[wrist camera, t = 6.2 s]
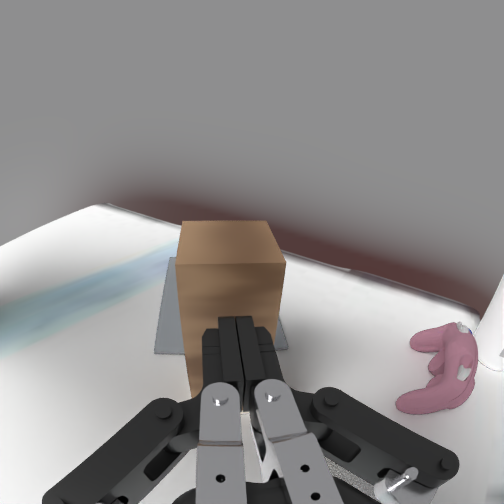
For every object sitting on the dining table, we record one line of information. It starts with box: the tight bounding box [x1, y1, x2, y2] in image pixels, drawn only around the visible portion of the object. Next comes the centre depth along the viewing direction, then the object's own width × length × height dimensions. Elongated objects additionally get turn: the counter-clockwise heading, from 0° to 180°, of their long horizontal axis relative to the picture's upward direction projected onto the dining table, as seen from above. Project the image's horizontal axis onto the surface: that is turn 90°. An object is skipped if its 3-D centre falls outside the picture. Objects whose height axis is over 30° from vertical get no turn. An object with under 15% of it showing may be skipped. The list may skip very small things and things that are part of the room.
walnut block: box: [175, 221, 286, 414], centre depth 18 cm, size 5×5×13 cm
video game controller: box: [396, 322, 478, 414], centre depth 20 cm, size 10×5×7 cm, turn 148°
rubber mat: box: [154, 257, 288, 354], centre depth 32 cm, size 17×12×1 cm
